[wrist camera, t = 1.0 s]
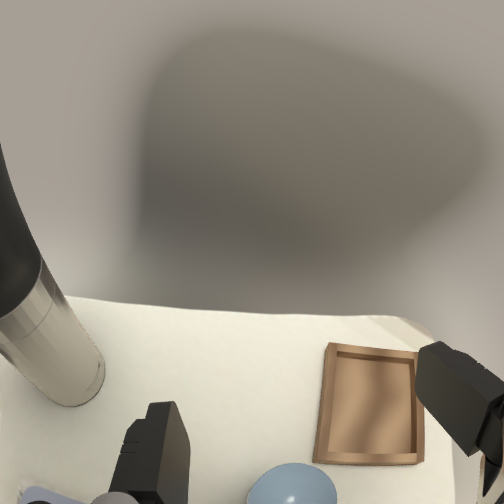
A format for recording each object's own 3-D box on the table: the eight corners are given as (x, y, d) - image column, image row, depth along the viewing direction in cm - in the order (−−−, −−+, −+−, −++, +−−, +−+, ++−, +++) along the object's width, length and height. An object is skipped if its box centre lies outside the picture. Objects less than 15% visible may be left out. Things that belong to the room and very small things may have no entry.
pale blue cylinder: (240, 522, 22) (241, 532, 14) (252, 474, 26) (258, 457, 18) (298, 529, 21) (330, 540, 13) (307, 481, 25) (342, 466, 17)
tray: (312, 462, 27) (316, 459, 25) (325, 350, 37) (329, 342, 35) (415, 464, 25) (424, 461, 24) (413, 360, 35) (420, 352, 34)
